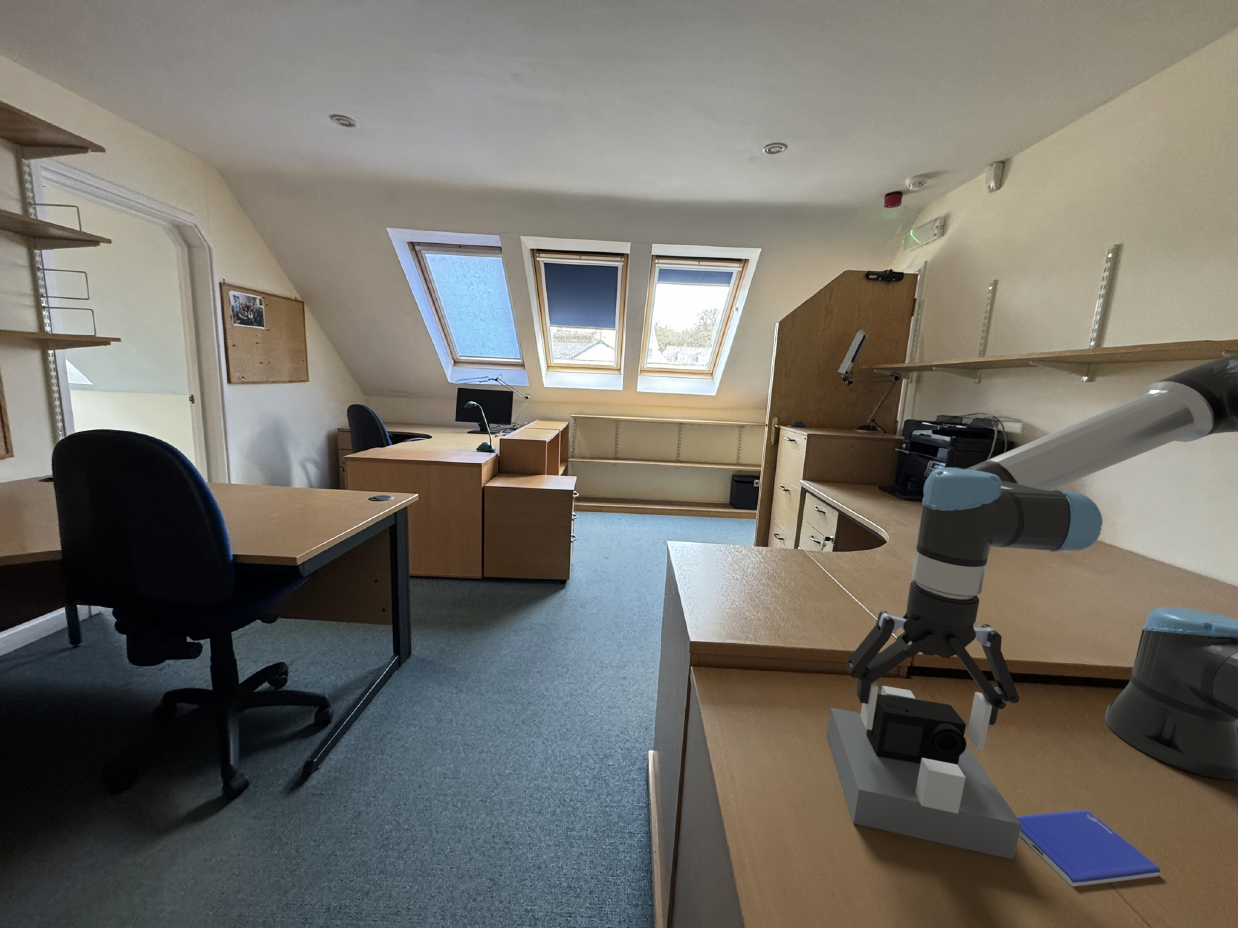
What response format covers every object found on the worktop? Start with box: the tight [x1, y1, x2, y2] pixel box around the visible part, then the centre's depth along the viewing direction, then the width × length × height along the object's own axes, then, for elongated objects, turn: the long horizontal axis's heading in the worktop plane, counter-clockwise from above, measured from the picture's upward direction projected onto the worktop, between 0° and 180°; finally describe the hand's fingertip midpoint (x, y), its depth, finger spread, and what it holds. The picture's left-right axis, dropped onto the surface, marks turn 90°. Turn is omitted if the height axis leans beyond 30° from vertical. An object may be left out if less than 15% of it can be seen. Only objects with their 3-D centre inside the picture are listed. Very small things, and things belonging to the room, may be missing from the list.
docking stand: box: [826, 685, 1022, 860], centre depth 66 cm, size 18×17×10 cm
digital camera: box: [866, 693, 967, 765], centre depth 66 cm, size 10×5×7 cm, turn 81°
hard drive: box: [1016, 809, 1161, 887], centre depth 59 cm, size 2×8×12 cm
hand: (919, 732), depth 65 cm, fingers open, 13 cm apart
